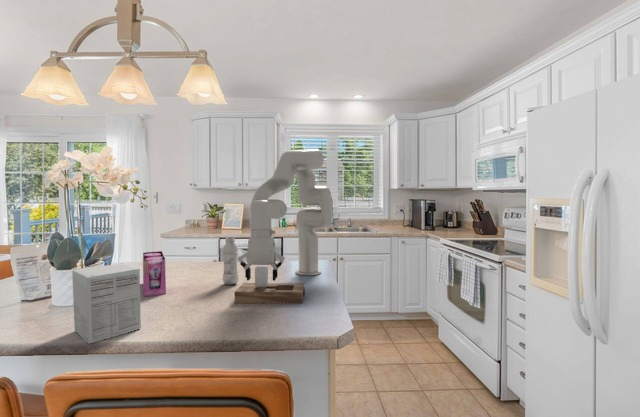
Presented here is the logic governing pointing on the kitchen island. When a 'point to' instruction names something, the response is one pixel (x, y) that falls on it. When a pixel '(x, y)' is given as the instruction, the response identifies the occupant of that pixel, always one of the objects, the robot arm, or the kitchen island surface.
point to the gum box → (154, 273)
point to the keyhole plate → (271, 293)
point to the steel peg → (261, 277)
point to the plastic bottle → (230, 262)
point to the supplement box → (106, 301)
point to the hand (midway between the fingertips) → (261, 279)
